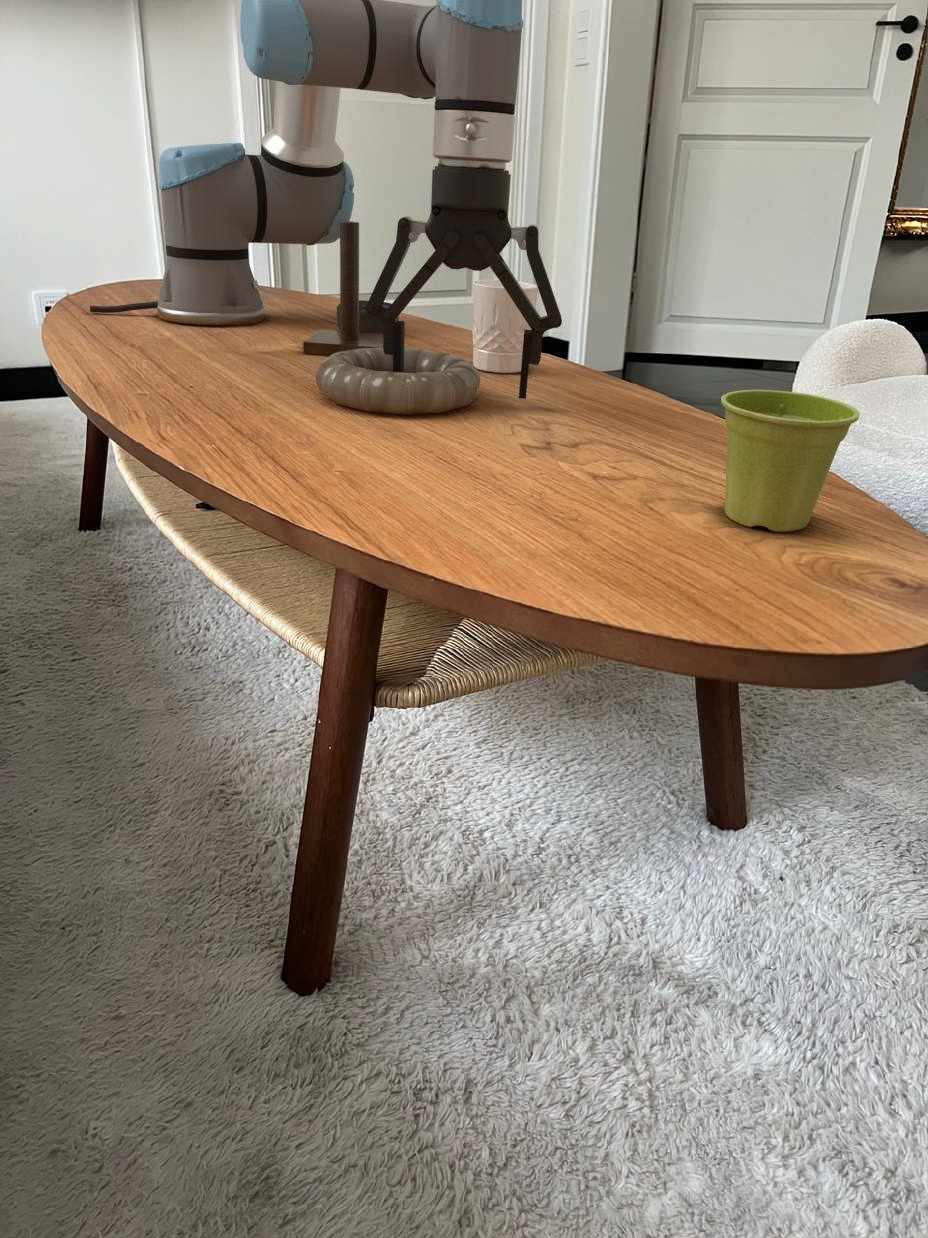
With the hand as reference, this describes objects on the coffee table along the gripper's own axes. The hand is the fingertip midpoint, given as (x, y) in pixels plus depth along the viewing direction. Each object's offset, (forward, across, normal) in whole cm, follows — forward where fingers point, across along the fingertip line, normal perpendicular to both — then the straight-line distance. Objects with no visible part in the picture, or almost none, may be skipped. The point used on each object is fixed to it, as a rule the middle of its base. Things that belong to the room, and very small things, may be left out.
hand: (460, 391), depth 95 cm
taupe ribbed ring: (-1, -6, 0) cm, 7 cm away
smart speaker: (+1, -16, +39) cm, 42 cm away
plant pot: (+1, +26, -30) cm, 39 cm away
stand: (+1, -16, +25) cm, 30 cm away
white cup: (+1, +4, +20) cm, 20 cm away
